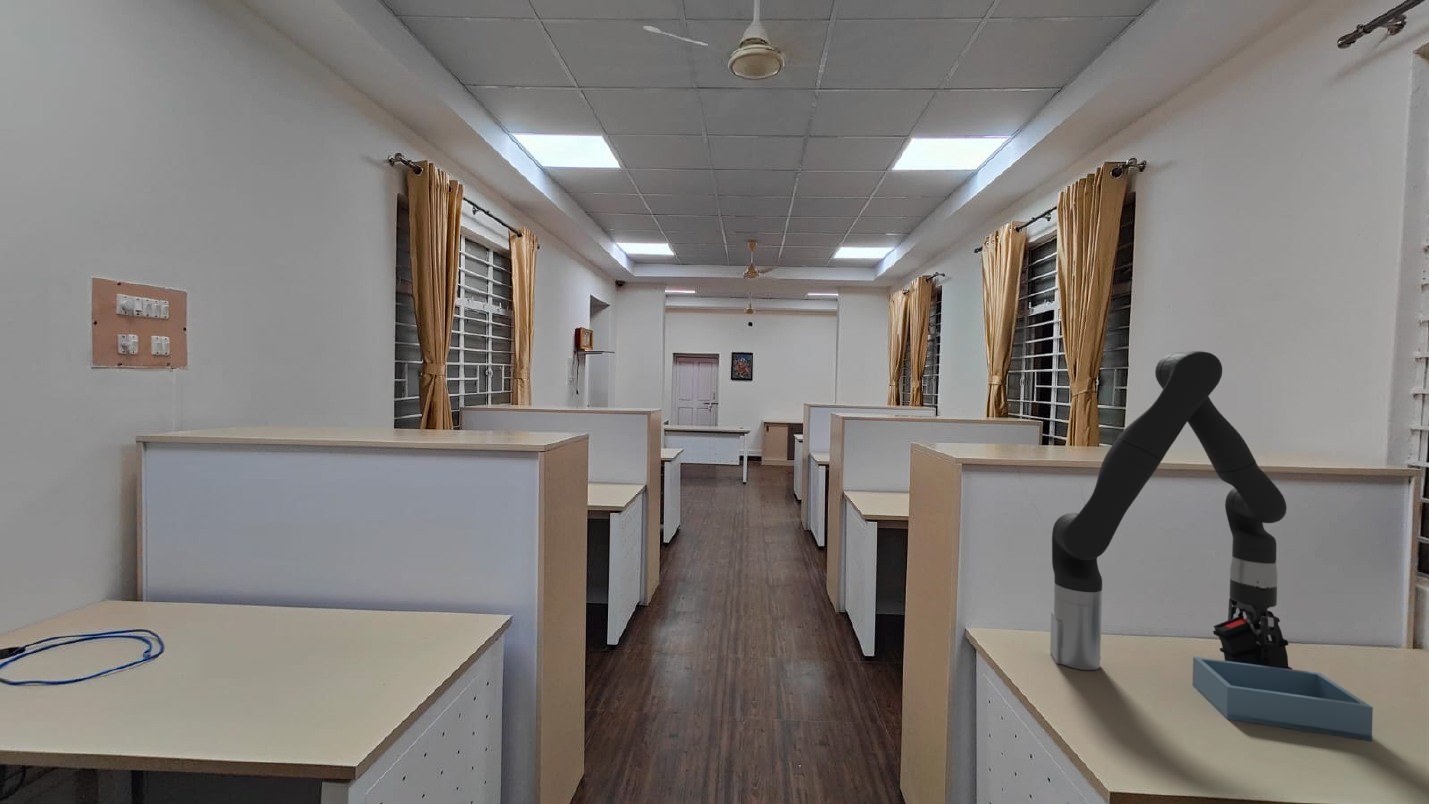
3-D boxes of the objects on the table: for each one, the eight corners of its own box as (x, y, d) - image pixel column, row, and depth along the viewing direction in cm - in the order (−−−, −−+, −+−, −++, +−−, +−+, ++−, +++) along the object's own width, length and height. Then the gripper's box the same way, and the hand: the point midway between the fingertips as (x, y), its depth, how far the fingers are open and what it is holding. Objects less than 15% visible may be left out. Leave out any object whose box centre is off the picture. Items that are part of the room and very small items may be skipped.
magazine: (1308, 678, 125) (1276, 612, 125) (1245, 701, 126) (1214, 636, 127) (1292, 670, 129) (1261, 606, 129) (1232, 692, 130) (1202, 629, 130)
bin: (1226, 718, 111) (1227, 687, 111) (1192, 685, 124) (1193, 656, 124) (1371, 741, 104) (1372, 707, 104) (1319, 703, 118) (1319, 673, 118)
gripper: (1215, 569, 136) (1213, 640, 136) (1250, 588, 122) (1247, 666, 122) (1256, 573, 133) (1254, 645, 133) (1295, 592, 120) (1293, 672, 120)
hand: (1251, 655), depth 128 cm, fingers open, 8 cm apart
